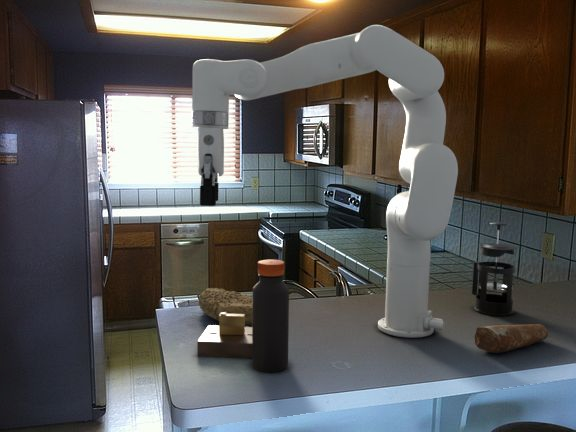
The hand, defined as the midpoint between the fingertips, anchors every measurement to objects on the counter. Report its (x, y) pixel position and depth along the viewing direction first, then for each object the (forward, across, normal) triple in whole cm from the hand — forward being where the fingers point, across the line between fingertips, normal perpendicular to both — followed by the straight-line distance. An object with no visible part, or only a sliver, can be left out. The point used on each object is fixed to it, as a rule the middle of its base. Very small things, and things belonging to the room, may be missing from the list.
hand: (209, 203), depth 119 cm
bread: (+28, -9, -64) cm, 71 cm away
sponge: (+29, +10, -5) cm, 31 cm away
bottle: (+29, -18, -13) cm, 36 cm away
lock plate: (+29, -8, -5) cm, 30 cm away
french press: (+28, +17, -72) cm, 79 cm away
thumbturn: (+26, -8, -5) cm, 28 cm away
